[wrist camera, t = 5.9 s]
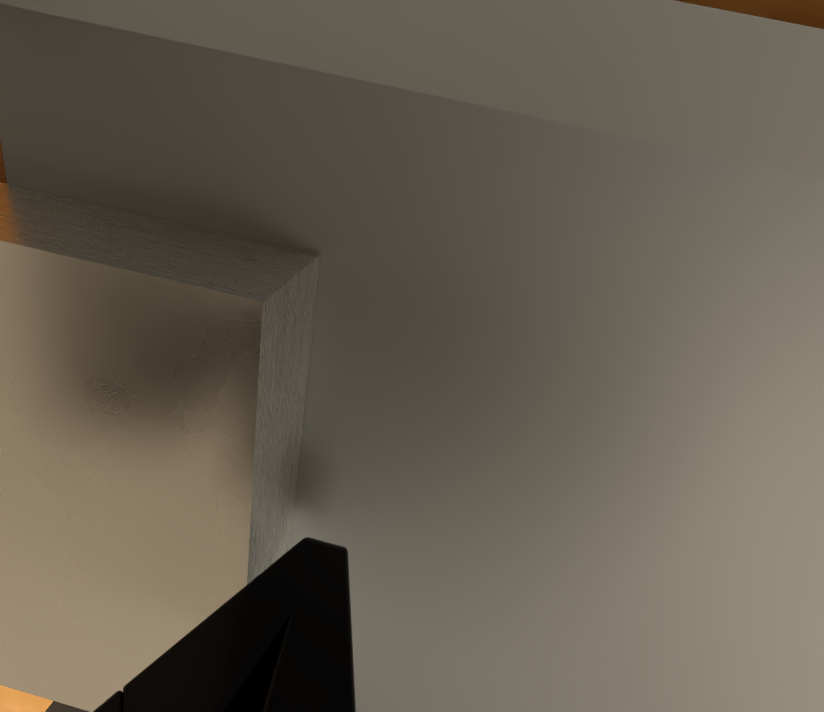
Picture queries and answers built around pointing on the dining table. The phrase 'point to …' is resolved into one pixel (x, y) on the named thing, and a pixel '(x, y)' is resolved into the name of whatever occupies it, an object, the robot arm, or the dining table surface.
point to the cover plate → (138, 433)
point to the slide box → (505, 315)
